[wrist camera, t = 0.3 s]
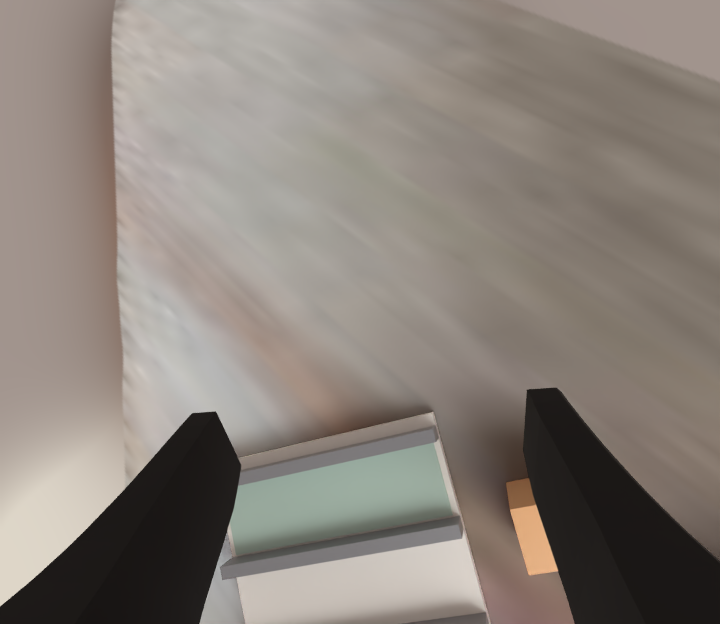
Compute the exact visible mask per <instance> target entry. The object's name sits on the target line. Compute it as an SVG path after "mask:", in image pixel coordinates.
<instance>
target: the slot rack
mask: <svg viewBox="0 0 720 624" xmlns="http://www.w3.org/2000/svg"><path fill="white" fill-rule="evenodd" d="M238 459H239V461H240V463H241V471H240V478H239V484H238V490H237V495H236V500H235V505H234V509H233V513H232V516H231V520H230V523H229V526H228V530H227V531H228V536H229V541H230V546H231V552H232V557H233V558H231V559H230V560H229V561H227V562H226V563H225V564H224V565H222V566H221V567H220V569H221V575H222V580H225V579H231V578H237V583H238V588H239V594H240V599H241V604H242V609H243V614H244V620H245V624H491V622H490V618H489V615H488V611H487V607H486V604H485V600H484V596H483V592H482V589H481V585H480V581H479V578H478V574H477V570H476V567H475V563H474V559H473V556H472V552H471V548H470V545H469V541H468V537H467V533H466V530H465V526H464V522H463V519H462V515H461V511H460V508H459V504H458V500H457V497H456V493H455V489H454V485H453V482H452V478H451V474H450V471H449V467H448V463H447V460H446V456H445V452H444V449H443V445H442V441H441V437H440V434H439V430H438V426H437V423H436V419H435V415H434V412H430V413H425V414H421V415H417V416H413V417H408V418H404V419H400V420H396V421H391V422H387V423H383V424H379V425H374V426H370V427H366V428H362V429H358V430H353V431H349V432H345V433H341V434H336V435H332V436H328V437H324V438H319V439H315V440H311V441H307V442H303V443H298V444H294V445H290V446H286V447H281V448H277V449H273V450H269V451H264V452H260V453H256V454H252V455H247V456H243V457H239V458H238Z"/></svg>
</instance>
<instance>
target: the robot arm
mask: <svg viewBox="0 0 720 624" xmlns="http://www.w3.org/2000/svg"><path fill="white" fill-rule="evenodd" d="M523 452H524V457H525V461H526V466H527V471H528V475H529V480H530V484H531V489H532V493H533V497H534V500H535V503H536V506H537V509H538V512H539V515H540V518H541V521H542V524H543V527H544V530H545V533H546V536H547V539H548V542H549V545H550V548H551V551H552V554H553V557H554V560H555V563H556V566H557V569H558V572H559V575H560V578H561V581H562V584H563V587H564V590H565V593H566V596H567V599H568V602H569V605H570V609H571V612H572V616H573V619H574V622H575V624H720V561H719V560H718V559H717V558H716V557H714V556H713V555H712V554H711V553H710V552H709V551H708V550H707V549H706V548H704V547H703V546H702V545H701V544H700V543H699V542H698V541H697V540H696V539H694V538H693V537H692V536H691V535H690V534H689V533H688V532H687V531H686V530H685V529H684V528H683V527H682V526H681V525H680V524H679V523H677V522H676V521H675V520H674V519H673V518H672V517H671V516H670V515H669V514H668V513H667V512H666V511H665V510H664V509H663V508H662V507H661V506H660V505H659V504H658V503H657V502H656V501H655V500H654V499H653V498H652V497H651V496H650V495H649V494H648V493H647V492H646V491H645V490H644V489H643V487H642V486H641V485H640V484H639V483H638V482H637V481H636V480H635V479H634V478H633V477H632V476H631V475H630V474H629V473H628V471H627V470H626V469H625V468H624V467H623V466H622V465H621V464H620V463H619V461H618V460H617V459H616V458H615V457H614V456H613V455H612V454H611V453H610V452H609V450H608V449H607V448H606V447H605V446H604V445H603V443H602V442H601V441H600V440H599V439H598V438H597V436H596V435H595V434H594V433H593V432H592V430H591V429H590V428H589V427H588V426H587V424H586V423H585V422H584V421H583V419H582V418H581V417H580V416H579V414H578V413H577V412H576V411H575V409H574V408H573V407H572V405H571V404H570V403H569V402H568V400H567V399H566V398H565V396H564V395H563V394H562V392H561V391H560V390H559V389H557V388H544V389H530V390H527V398H526V414H525V429H524V445H523ZM240 471H241V463H240V461H239V459H238V457H237V455H236V453H235V451H234V449H233V446H232V444H231V442H230V440H229V438H228V436H227V434H226V432H225V430H224V427H223V425H222V423H221V421H220V419H219V417H218V415H217V413H216V412H203V413H192V414H191V415H190V416H189V417H188V418H187V420H186V421H185V422H184V423H183V424H182V425H181V426H180V427H179V428H178V430H177V431H176V432H175V433H174V434H173V435H172V436H171V438H170V439H169V440H168V441H167V442H166V443H165V445H164V446H163V447H162V448H161V449H160V450H159V451H158V453H157V454H156V455H155V456H154V457H153V458H152V459H151V461H150V462H149V463H148V464H147V465H146V466H145V467H144V468H143V470H142V471H141V472H140V473H139V474H138V475H137V476H136V477H135V478H134V480H133V481H132V482H131V483H130V484H129V485H128V486H127V487H126V489H125V490H124V491H123V492H122V493H121V494H120V495H119V496H118V497H117V498H116V499H115V500H114V501H113V502H112V503H111V504H110V506H108V507H107V508H106V509H105V511H104V512H103V513H102V514H101V515H100V516H99V517H98V518H97V519H96V520H95V521H94V522H93V523H92V524H91V525H90V526H89V527H88V528H87V529H86V530H85V531H84V532H83V533H82V534H81V535H80V536H79V537H78V538H77V539H76V540H75V541H74V542H73V543H72V544H71V545H70V546H69V547H68V548H67V549H66V550H65V551H64V552H63V553H62V554H60V555H59V556H58V557H57V558H56V559H55V560H54V561H53V562H51V563H50V564H49V565H48V566H47V567H46V568H45V569H44V570H43V571H42V572H41V573H40V574H38V575H37V576H36V577H35V578H34V579H33V580H32V581H30V582H29V583H28V584H27V585H26V586H25V587H23V588H22V589H21V590H20V591H18V592H17V593H16V594H15V595H14V596H12V597H11V598H10V599H9V600H8V601H6V602H5V603H4V604H3V605H2V606H0V624H199V623H200V619H201V615H202V611H203V608H204V604H205V601H206V598H207V594H208V591H209V588H210V585H211V581H212V578H213V575H214V572H215V569H216V565H217V562H218V559H219V556H220V552H221V549H222V546H223V543H224V540H225V536H226V533H227V530H228V526H229V523H230V520H231V516H232V513H233V509H234V505H235V500H236V495H237V490H238V484H239V478H240Z"/></svg>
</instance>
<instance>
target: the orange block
mask: <svg viewBox="0 0 720 624" xmlns="http://www.w3.org/2000/svg"><path fill="white" fill-rule="evenodd" d="M506 487H507V493H508V500H509V507H510V512H511V515H512V518H513V522H514V525H515V529H516V532H517V536H518V539H519V543H520V546H521V550H522V553H523V557H524V560H525V564H526V567H527V571H528V574H529V575H535V574H542V573H549V572H555V571H558V569H557V566H556V563H555V560H554V557H553V554H552V551H551V548H550V545H549V542H548V539H547V536H546V533H545V530H544V527H543V524H542V521H541V518H540V515H539V512H538V509H537V506H536V503H535V500H534V497H533V493H532V489H531V484H530V480H529V478H526V479H521V480H516V481H511V482H506Z"/></svg>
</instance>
